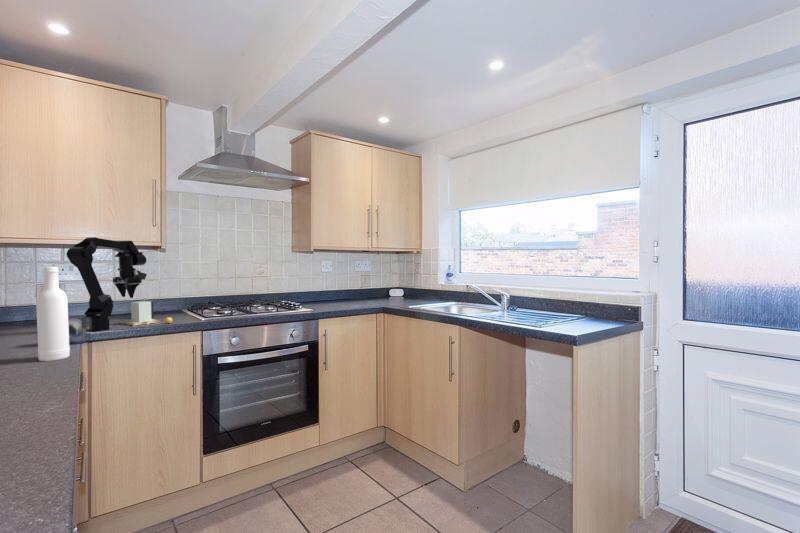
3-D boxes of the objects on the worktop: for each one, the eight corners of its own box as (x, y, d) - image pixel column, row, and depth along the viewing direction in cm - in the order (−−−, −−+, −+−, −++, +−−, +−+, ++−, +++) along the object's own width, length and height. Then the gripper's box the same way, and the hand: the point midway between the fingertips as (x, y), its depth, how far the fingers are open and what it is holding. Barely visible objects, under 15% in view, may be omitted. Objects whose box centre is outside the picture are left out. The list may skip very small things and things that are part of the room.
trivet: (133, 326, 194) (133, 323, 194) (122, 324, 201) (122, 321, 201) (160, 322, 204) (160, 320, 204) (149, 320, 211) (149, 318, 211)
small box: (47, 346, 151) (46, 318, 151) (54, 343, 157) (53, 316, 157) (82, 343, 156) (81, 316, 155) (87, 340, 162) (86, 314, 161)
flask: (133, 319, 218) (133, 299, 218) (135, 318, 221) (134, 298, 220) (153, 318, 221) (152, 298, 221) (154, 317, 224) (154, 297, 223)
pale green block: (139, 322, 198) (138, 303, 198) (131, 321, 201) (130, 302, 201) (151, 320, 204) (150, 301, 203) (143, 319, 206) (143, 301, 206)
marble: (167, 324, 198) (166, 317, 198) (164, 323, 200) (163, 317, 200) (173, 323, 201) (173, 317, 201) (170, 322, 203) (170, 316, 203)
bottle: (31, 361, 129) (27, 267, 128) (52, 355, 137) (48, 266, 136) (56, 361, 129) (52, 267, 128) (76, 355, 137) (72, 266, 136)
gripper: (152, 265, 202) (153, 296, 203) (136, 265, 213) (137, 294, 214) (127, 266, 193) (128, 299, 194) (111, 266, 204) (112, 297, 204)
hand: (127, 297), depth 202 cm, fingers open, 9 cm apart
